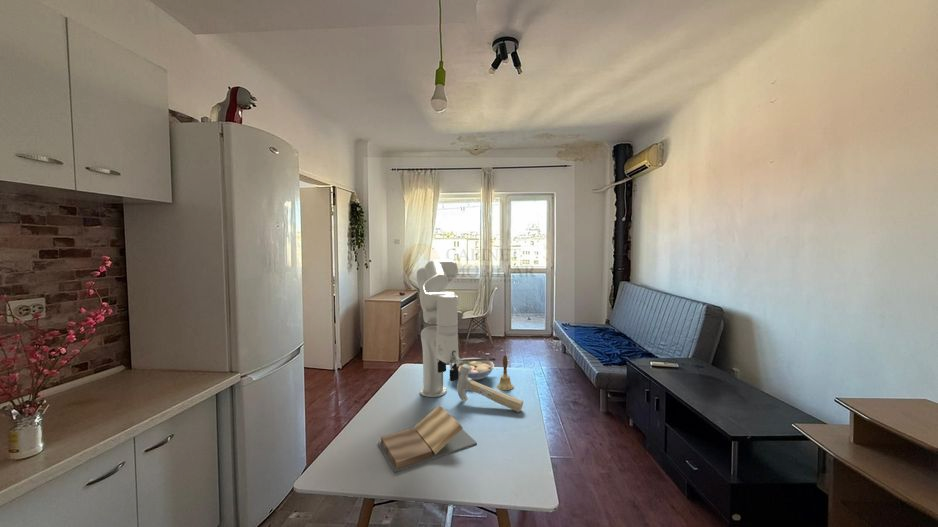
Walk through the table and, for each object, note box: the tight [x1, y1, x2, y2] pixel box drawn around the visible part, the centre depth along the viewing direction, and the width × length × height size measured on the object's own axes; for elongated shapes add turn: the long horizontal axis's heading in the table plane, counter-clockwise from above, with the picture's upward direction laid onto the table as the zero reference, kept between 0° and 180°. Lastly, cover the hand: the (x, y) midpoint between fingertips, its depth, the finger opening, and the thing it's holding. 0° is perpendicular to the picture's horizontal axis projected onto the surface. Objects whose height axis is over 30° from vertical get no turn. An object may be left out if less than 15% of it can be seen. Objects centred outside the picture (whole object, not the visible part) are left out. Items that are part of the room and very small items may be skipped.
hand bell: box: [496, 354, 515, 391], centre depth 171 cm, size 8×8×16 cm
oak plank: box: [413, 404, 464, 454], centre depth 124 cm, size 17×12×2 cm
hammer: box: [456, 364, 524, 413], centre depth 152 cm, size 16×5×30 cm
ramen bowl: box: [451, 357, 496, 382], centre depth 183 cm, size 25×23×8 cm
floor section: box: [377, 427, 478, 473], centre depth 123 cm, size 18×30×3 cm, turn 120°
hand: (447, 376), depth 126 cm, fingers open, 9 cm apart
